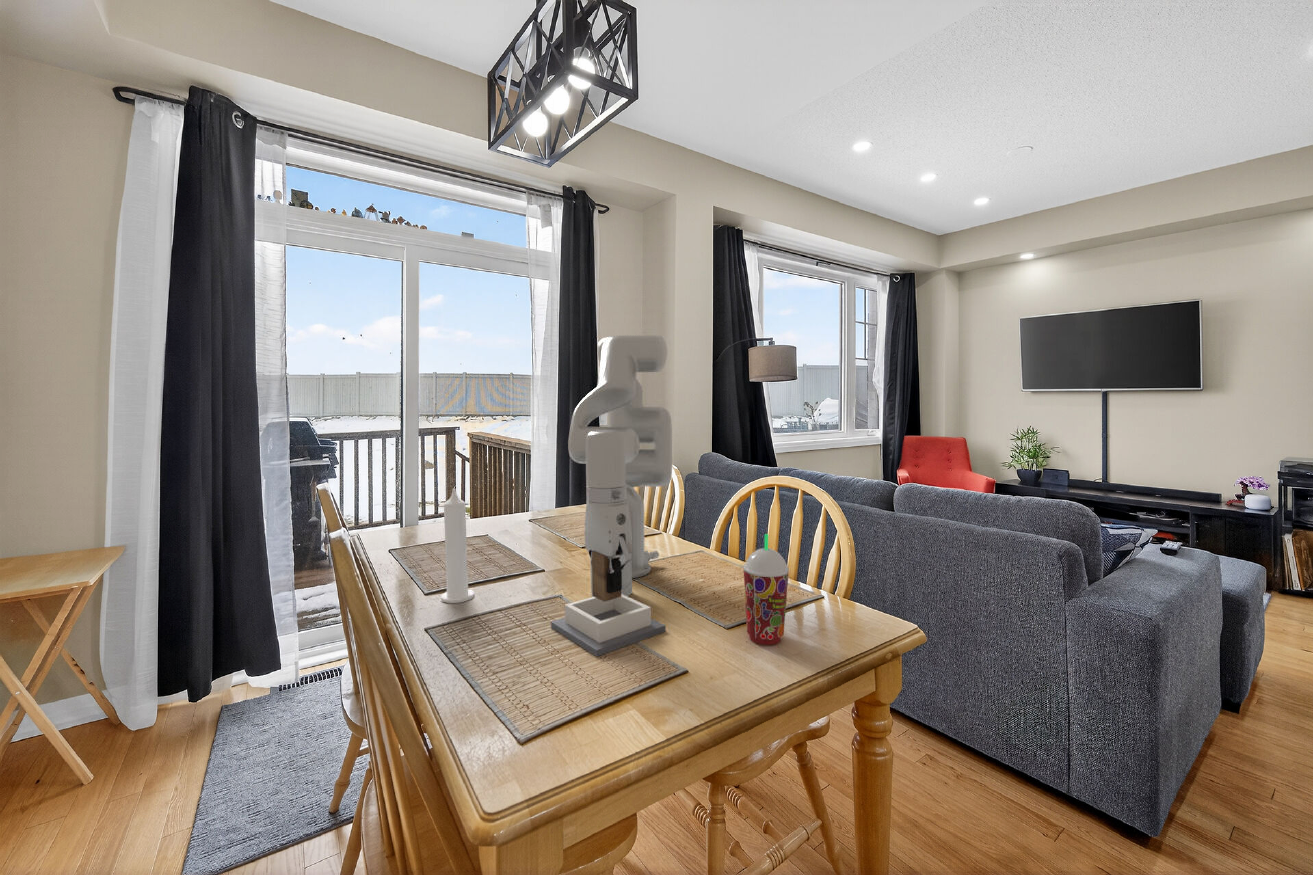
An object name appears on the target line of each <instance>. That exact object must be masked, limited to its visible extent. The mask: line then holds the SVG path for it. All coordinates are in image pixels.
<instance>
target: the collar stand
mask: <svg viewBox="0 0 1313 875" xmlns="http://www.w3.org/2000/svg"><path fill="white" fill-rule="evenodd" d="M550 628H551V629H553V630H554V631H556V632H558V633H559V634H561V635H562V634H563V637H565V636H566V637H565V638H567V639H568V640H570V641H572V642H573V643H574V644H576V645H578V646H579V645H580V646H579V647H581V648H582V647H583V648H582V649H584V650H585V649H586V650H585V651H587V652H589V653H590V652H591V653H590V654H591V655H594V656H595V657H599V656H602V655H606V654H608V653H610V652H613V651H616V650H618V648H619V649H621V648H620V647H622V648H625V647H626V646H625V645H627V646H630V645H632V644H635V643H638V642H640V641H643V640H645V639H649V638H651V637H654V636H656V635H660V634H662V633H664V632H666V624H663V623H661V622H659V621H658V620H656V619H653V618H652V607H651V606H649V605H647V604H645V603H642V602H640V601H639V600H635V599H634V598H631V597H629V596H628V597H627V596H625V595H623V594H621V597H619V598H615V599H612V600H608V601H605V602H604V601H602V600H600V599H598V598H596V597H592V596H591V597H587V598H584V599H580V600H577V601H574V602H569V603H566V604H564V617H562V618H559V619H555V620H551V621H550ZM629 644H630V645H629ZM615 649H616V650H615ZM607 652H608V653H607Z"/></svg>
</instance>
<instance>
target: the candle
mask: <svg viewBox="0 0 1313 875" xmlns="http://www.w3.org/2000/svg"><path fill="white" fill-rule="evenodd" d="M466 519H467V516H466V501H464V500H462V499H461V498H460V497H459V496H458V494H457V490H456V488H452V491H451V495H450V498H449V499H447V500H446V501H445V502H444V503H443V521H444V525H443V526H444V546H445V547H444V548H445V549H444V550H445V551H444V552H445V569H446V570H445V572H446V578H445V579H446V591H445V592H444V593H442V594H441V596H440V600H441V601H442V602H443V603H446V604H458V603H459V604H460V603H464V602H467V601H470V600H471V599H473V598H474V597H475V592H474V590H472V589H470V588H469V581H468V580H469V577H468V552H467V551H468V548H467V544H468V543H467V520H466Z"/></svg>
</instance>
